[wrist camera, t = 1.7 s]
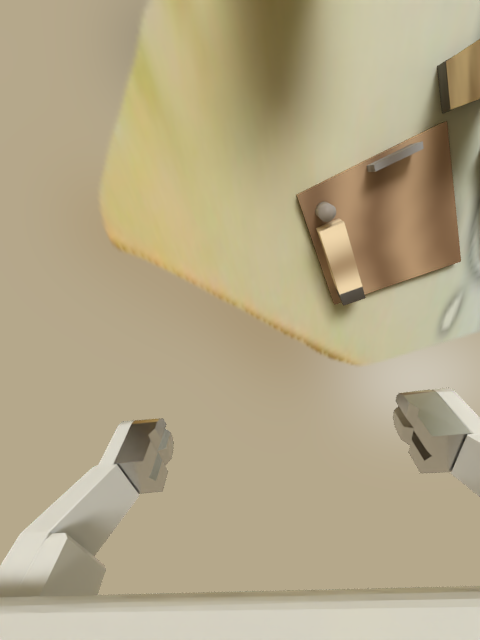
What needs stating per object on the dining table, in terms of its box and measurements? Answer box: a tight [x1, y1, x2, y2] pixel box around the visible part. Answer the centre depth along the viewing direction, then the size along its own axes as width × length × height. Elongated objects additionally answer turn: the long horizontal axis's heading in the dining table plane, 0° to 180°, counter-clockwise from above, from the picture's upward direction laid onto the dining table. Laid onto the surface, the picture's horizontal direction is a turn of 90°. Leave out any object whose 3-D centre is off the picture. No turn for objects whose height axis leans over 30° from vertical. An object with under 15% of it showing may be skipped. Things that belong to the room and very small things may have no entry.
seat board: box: [297, 121, 461, 304], centre depth 27 cm, size 14×14×4 cm
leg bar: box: [316, 218, 366, 305], centre depth 29 cm, size 9×2×2 cm, turn 26°
